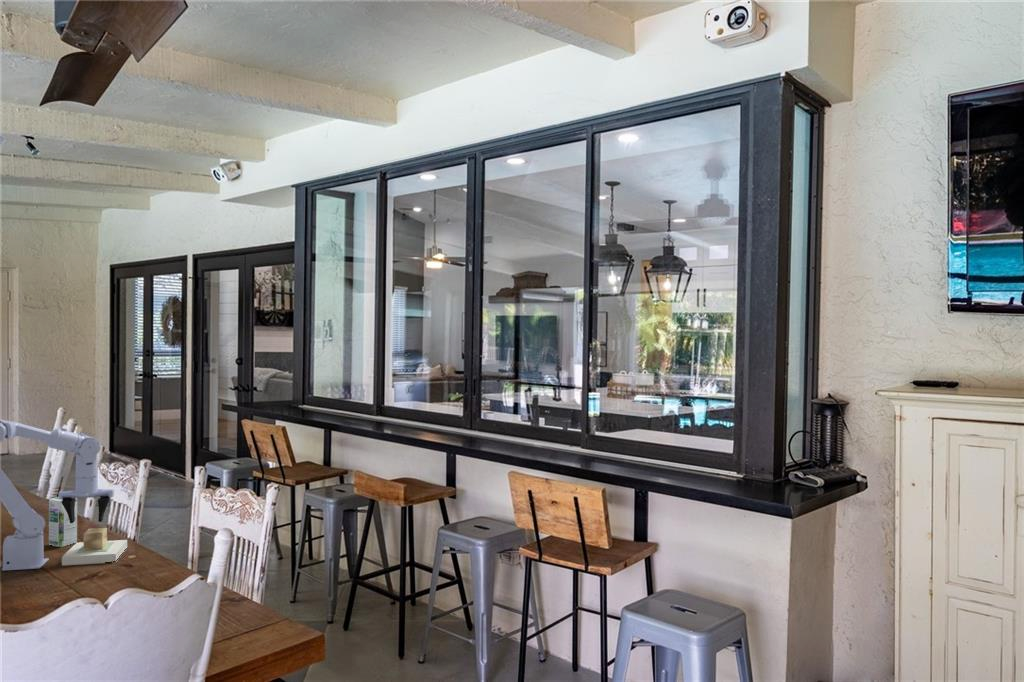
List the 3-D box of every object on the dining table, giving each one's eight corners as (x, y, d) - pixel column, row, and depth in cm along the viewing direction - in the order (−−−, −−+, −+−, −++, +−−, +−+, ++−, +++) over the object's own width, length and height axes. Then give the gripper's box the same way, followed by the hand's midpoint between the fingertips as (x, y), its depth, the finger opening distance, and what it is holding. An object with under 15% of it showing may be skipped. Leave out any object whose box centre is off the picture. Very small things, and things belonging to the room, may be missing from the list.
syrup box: (47, 545, 235) (47, 499, 234) (65, 540, 240) (65, 495, 240) (60, 548, 233) (60, 501, 232) (78, 542, 238) (78, 496, 237)
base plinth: (61, 565, 217) (61, 555, 216) (76, 550, 230) (76, 541, 230) (115, 562, 220) (115, 552, 220) (127, 547, 234) (127, 538, 234)
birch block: (83, 550, 222) (83, 533, 221) (88, 545, 226) (88, 528, 226) (102, 549, 223) (102, 532, 223) (107, 544, 228) (106, 527, 228)
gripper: (54, 480, 220) (54, 526, 221) (109, 478, 224) (109, 524, 224) (62, 475, 227) (62, 520, 227) (115, 473, 231) (115, 517, 231)
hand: (86, 521), depth 226 cm, fingers open, 7 cm apart
